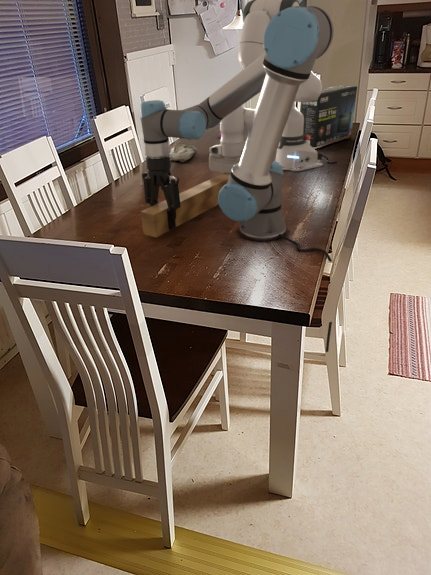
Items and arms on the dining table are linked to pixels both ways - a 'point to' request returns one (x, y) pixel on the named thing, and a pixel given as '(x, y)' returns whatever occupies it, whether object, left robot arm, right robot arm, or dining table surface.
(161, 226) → the post
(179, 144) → the fossil
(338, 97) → the router box
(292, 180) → the dining table surface
